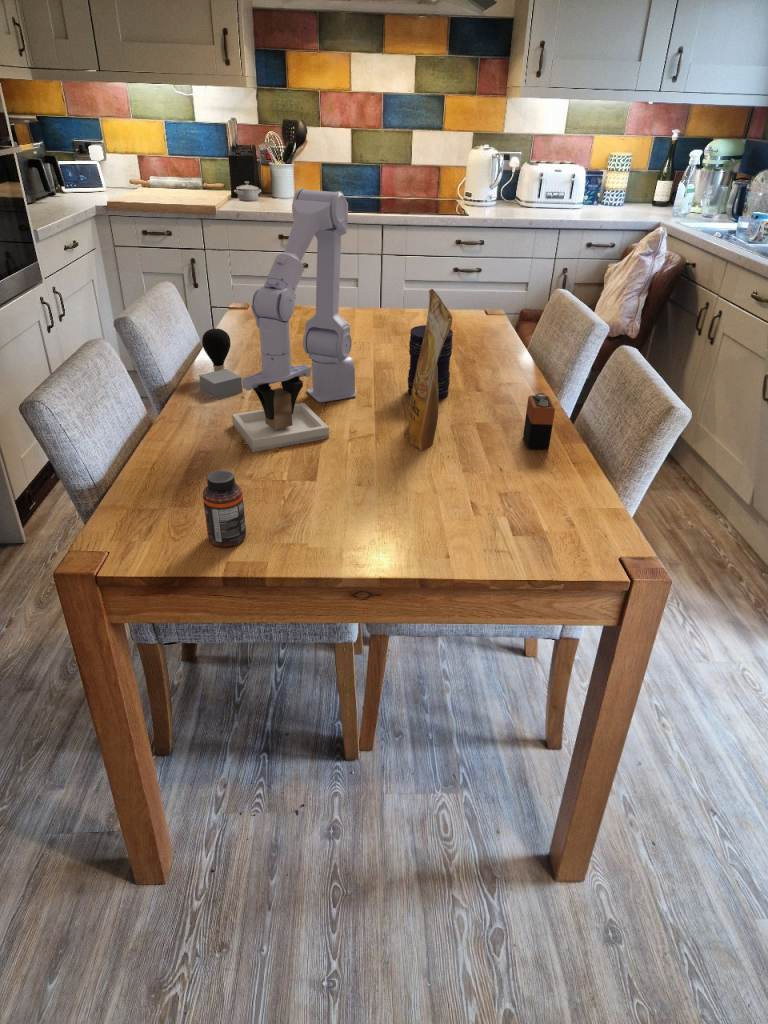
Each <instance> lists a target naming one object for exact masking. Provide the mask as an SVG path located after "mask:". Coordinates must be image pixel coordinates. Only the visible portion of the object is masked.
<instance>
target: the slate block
mask: <svg viewBox="0 0 768 1024" xmlns="http://www.w3.org/2000/svg"><path fill="white" fill-rule="evenodd" d="M199 385H200V391H201V392H203V393H204V392H205V394H206V395H208V396H210V397H211V396H212V397H211V398H213V399H214V400H219V398H220V399H223V398H226V397H231V396H235V395H239V394H242V392H243V384H242V377H241V376H240V375H238V374H236V373H234V372H232V371H231V370H229V369H227V368H224V369H223V370H219V371H215V372H214V371H212V372H207V373H202V374H199ZM238 393H239V394H238ZM234 394H235V395H234ZM230 395H231V396H230ZM222 397H223V398H222Z"/></svg>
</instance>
